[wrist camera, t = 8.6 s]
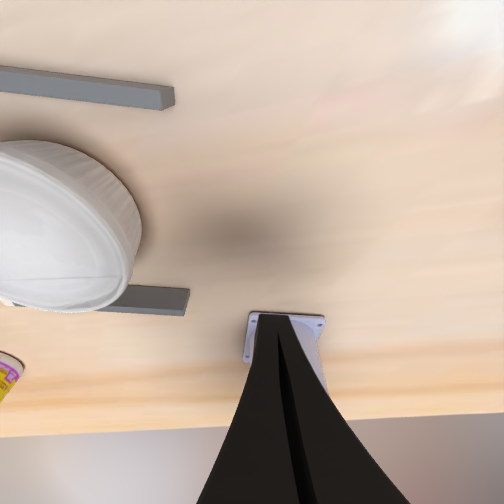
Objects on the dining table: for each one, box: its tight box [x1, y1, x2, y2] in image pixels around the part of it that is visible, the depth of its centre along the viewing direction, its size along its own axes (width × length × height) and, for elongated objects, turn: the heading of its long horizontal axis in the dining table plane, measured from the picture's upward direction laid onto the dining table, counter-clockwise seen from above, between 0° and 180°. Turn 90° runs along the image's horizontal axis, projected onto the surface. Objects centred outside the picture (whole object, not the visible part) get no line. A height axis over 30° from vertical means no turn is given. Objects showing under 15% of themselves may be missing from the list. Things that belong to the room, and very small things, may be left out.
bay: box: [0, 66, 190, 316], centre depth 17 cm, size 17×15×2 cm
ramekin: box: [0, 140, 142, 313], centre depth 15 cm, size 11×11×5 cm
